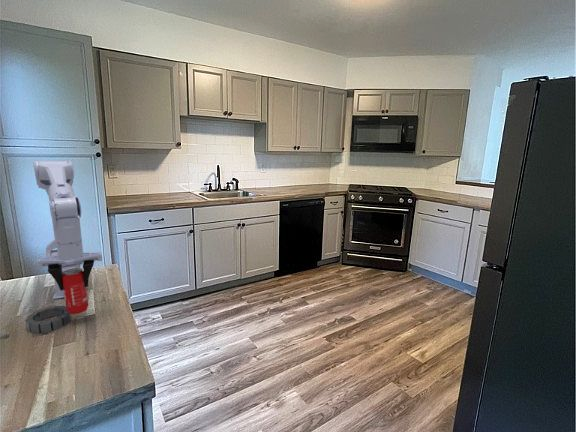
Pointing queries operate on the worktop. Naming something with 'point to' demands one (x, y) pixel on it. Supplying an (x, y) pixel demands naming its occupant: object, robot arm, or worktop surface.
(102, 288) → the worktop surface
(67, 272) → the beverage can
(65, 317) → the collar ring
